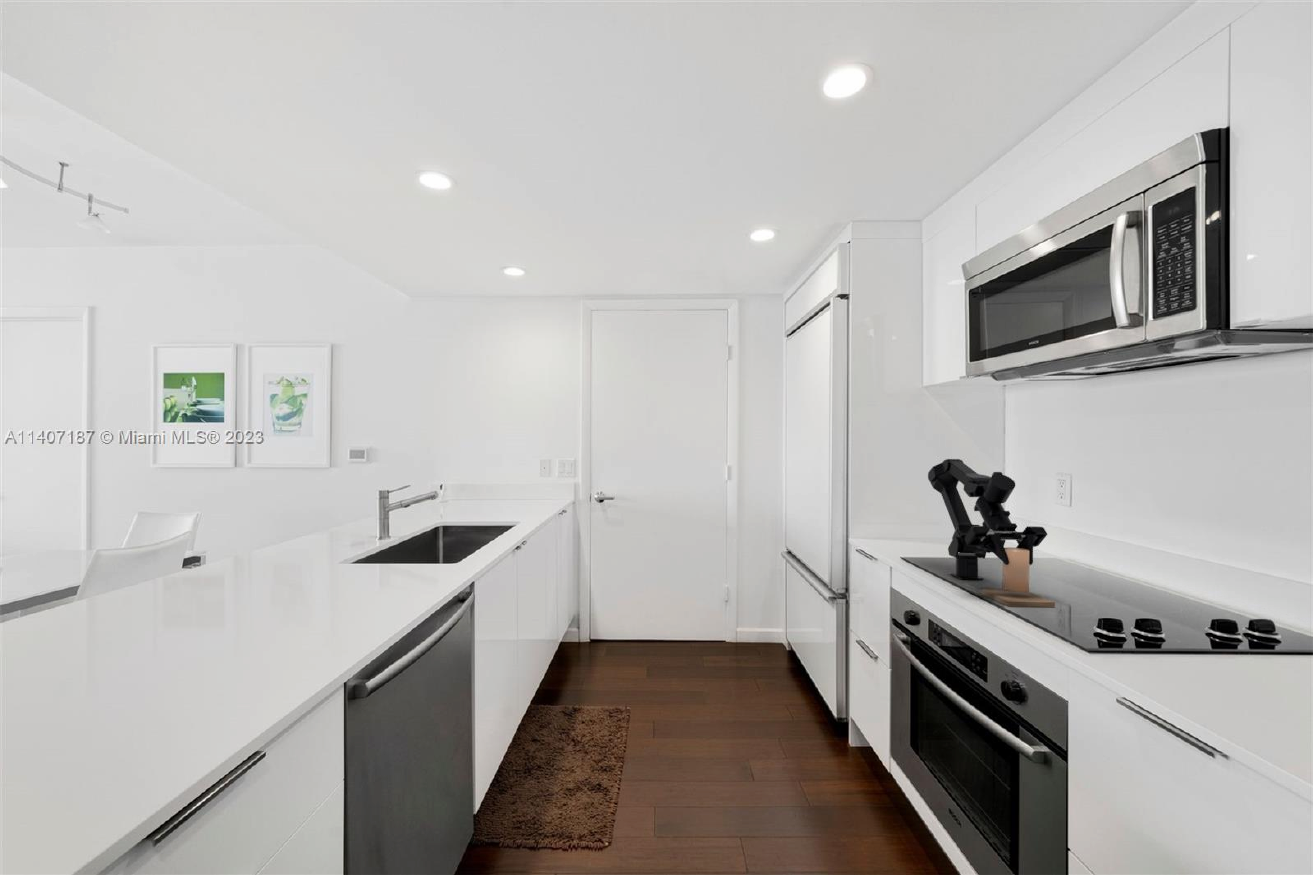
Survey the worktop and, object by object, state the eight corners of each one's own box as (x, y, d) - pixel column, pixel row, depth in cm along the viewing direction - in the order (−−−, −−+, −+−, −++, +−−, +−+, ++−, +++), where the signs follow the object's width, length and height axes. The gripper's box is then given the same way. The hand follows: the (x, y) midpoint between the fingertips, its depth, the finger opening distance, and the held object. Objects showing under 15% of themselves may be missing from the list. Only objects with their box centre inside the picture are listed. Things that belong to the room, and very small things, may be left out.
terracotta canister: (1000, 585, 145) (1000, 546, 145) (1026, 587, 143) (1026, 548, 143) (1005, 590, 140) (1005, 550, 140) (1032, 592, 138) (1032, 552, 138)
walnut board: (981, 593, 147) (981, 589, 147) (1022, 594, 147) (1022, 589, 147) (1009, 606, 135) (1009, 601, 135) (1054, 607, 135) (1054, 602, 135)
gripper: (1015, 532, 157) (1041, 581, 146) (948, 531, 157) (969, 580, 146) (1033, 507, 149) (1063, 557, 138) (963, 507, 149) (987, 556, 138)
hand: (1019, 564), depth 140 cm, fingers closed on terracotta canister, 5 cm apart
